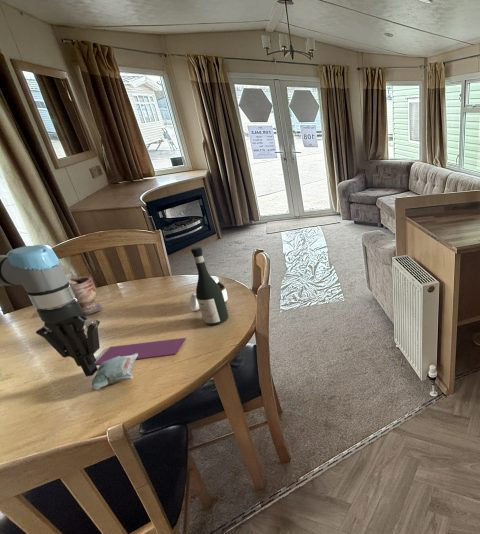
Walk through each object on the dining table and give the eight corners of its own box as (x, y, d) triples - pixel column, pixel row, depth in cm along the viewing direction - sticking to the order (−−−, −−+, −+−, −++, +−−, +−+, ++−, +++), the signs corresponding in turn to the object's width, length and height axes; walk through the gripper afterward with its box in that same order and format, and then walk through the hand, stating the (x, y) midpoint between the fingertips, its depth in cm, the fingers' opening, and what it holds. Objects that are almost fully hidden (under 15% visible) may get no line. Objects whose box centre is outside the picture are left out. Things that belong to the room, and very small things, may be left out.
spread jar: (232, 302, 142) (226, 277, 137) (209, 316, 132) (202, 290, 127) (209, 297, 145) (202, 273, 140) (185, 311, 135) (176, 285, 130)
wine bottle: (217, 328, 125) (195, 253, 112) (199, 324, 127) (175, 250, 114) (233, 316, 132) (214, 245, 120) (216, 313, 134) (196, 242, 121)
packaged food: (140, 360, 108) (135, 347, 106) (134, 383, 99) (128, 370, 97) (104, 369, 104) (98, 357, 102) (94, 395, 95) (87, 381, 93)
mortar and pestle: (62, 322, 126) (37, 274, 117) (64, 312, 131) (40, 265, 123) (104, 311, 133) (83, 265, 124) (104, 303, 138) (84, 258, 130)
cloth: (93, 365, 105) (93, 364, 105) (110, 347, 113) (110, 346, 113) (175, 354, 111) (175, 353, 111) (186, 338, 119) (185, 337, 119)
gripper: (95, 293, 93) (125, 361, 103) (36, 298, 90) (73, 368, 100) (77, 307, 87) (111, 378, 97) (13, 313, 84) (54, 386, 93)
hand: (92, 372), depth 98 cm, fingers closed
